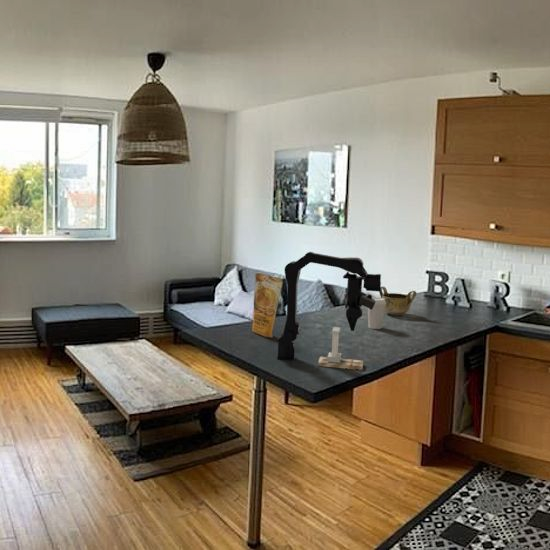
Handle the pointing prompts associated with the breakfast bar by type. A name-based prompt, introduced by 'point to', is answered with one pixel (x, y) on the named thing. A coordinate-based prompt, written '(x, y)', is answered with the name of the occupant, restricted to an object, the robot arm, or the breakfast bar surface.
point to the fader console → (342, 363)
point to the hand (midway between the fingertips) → (352, 327)
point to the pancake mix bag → (265, 303)
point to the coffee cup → (376, 313)
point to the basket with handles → (396, 302)
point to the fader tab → (334, 347)
